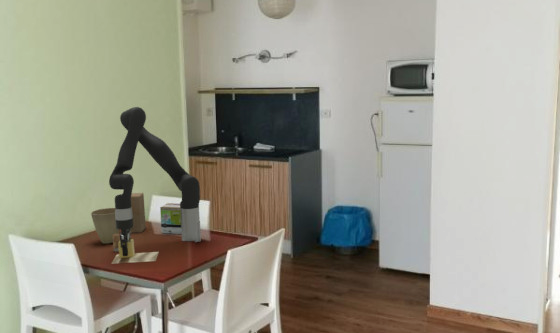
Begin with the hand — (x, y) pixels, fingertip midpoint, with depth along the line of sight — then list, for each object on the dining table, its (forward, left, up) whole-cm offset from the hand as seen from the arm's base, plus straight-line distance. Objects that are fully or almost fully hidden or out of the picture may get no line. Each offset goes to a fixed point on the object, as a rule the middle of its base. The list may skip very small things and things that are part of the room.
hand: (126, 253), depth 253 cm
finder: (0, 0, -1) cm, 1 cm away
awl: (+6, -10, -2) cm, 11 cm away
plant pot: (+14, -32, -3) cm, 35 cm away
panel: (-4, +3, -2) cm, 6 cm away
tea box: (-20, -44, -3) cm, 48 cm away
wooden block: (+4, -52, -3) cm, 52 cm away
